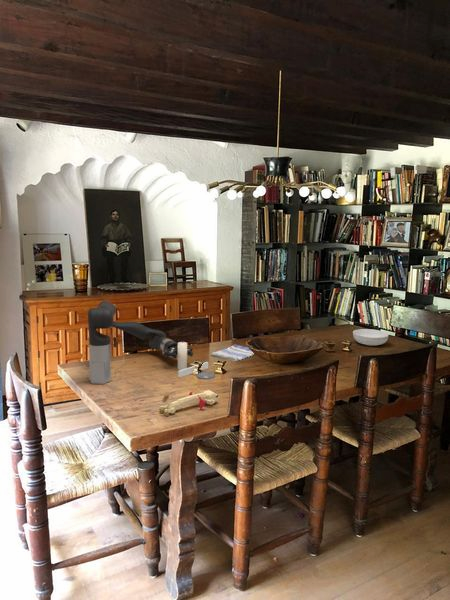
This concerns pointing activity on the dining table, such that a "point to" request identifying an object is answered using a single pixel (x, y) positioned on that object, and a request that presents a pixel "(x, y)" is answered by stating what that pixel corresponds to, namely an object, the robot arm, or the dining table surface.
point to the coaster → (205, 375)
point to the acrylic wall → (191, 370)
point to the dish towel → (234, 353)
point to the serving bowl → (370, 337)
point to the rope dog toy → (188, 401)
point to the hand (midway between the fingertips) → (184, 355)
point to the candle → (182, 355)
